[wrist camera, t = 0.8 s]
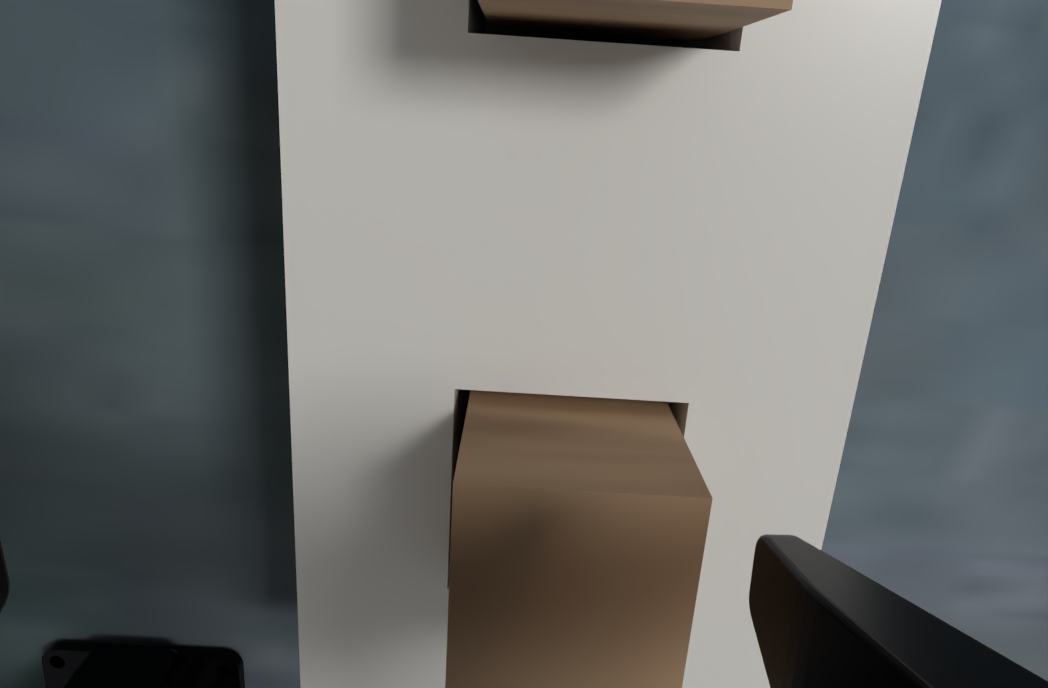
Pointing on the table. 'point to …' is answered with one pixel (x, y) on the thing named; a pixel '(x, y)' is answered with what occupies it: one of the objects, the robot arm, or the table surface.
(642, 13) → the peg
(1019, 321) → the table surface
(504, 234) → the white peg base
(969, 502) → the table surface
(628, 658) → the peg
